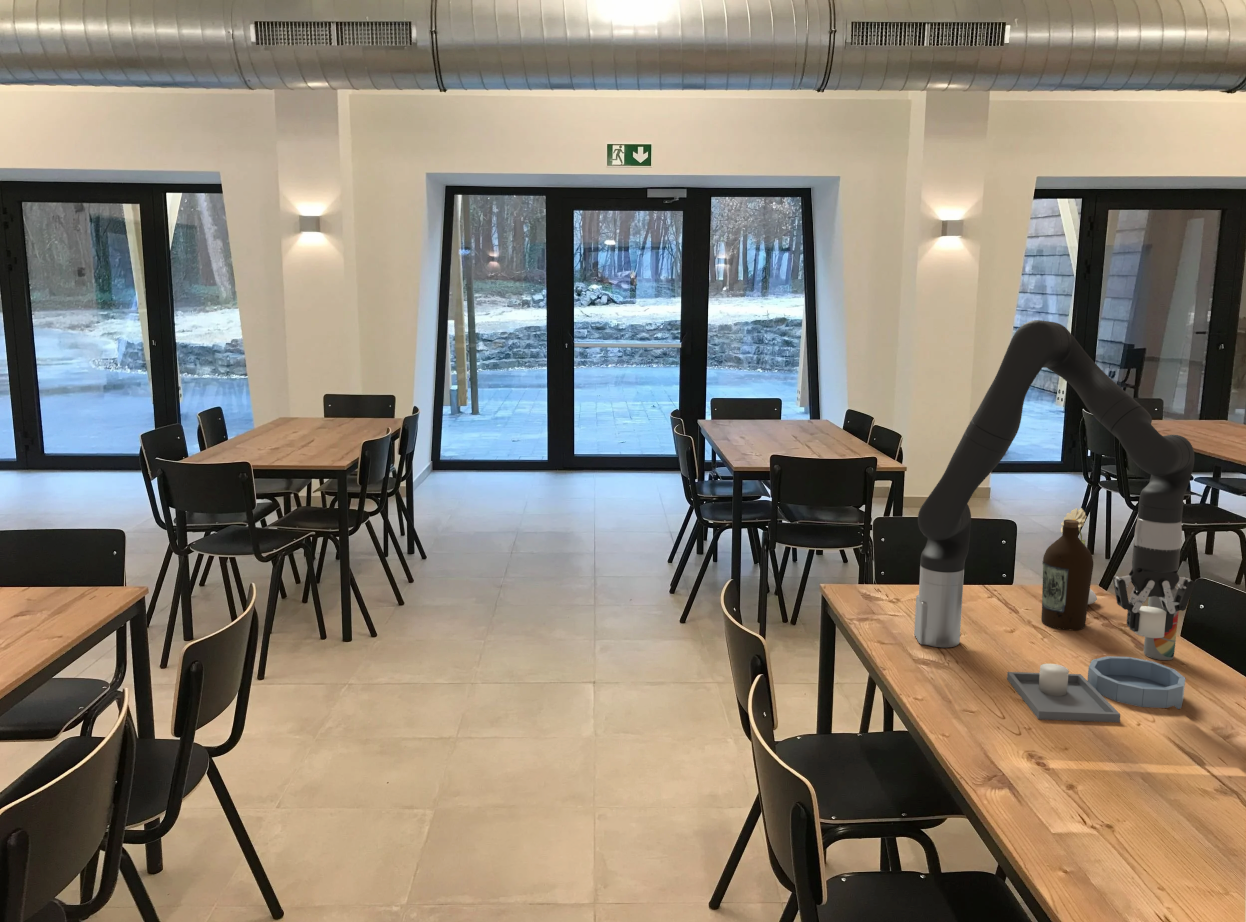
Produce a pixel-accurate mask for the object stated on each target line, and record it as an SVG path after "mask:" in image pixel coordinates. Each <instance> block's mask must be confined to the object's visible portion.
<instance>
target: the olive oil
mask: <svg viewBox="0 0 1246 922" xmlns="http://www.w3.org/2000/svg"><path fill="white" fill-rule="evenodd" d="M1063 521H1064V526H1062V527H1063V532H1062V533H1061V534H1062V535H1061V536H1059V537H1058V539H1056V540H1055V541H1054V542H1052V543H1051V544H1050V545H1049V546H1048V547H1047V548H1046V550H1045V552H1044V554H1043V558H1042V590H1041V591H1042V594H1041V617H1040V618H1041V622H1042V624H1044V625H1045V626H1048V627H1051V628H1053V629H1058V630H1063V631H1064V630H1065V631H1079V630H1082V629H1084V628H1086V623H1087V614H1088V606H1089V604H1088V599H1089V592H1090V589H1091V584H1092V577H1093V570H1094V558H1093V554H1092V553H1091V551H1090V549H1089V548H1088V546H1086V544H1085V545H1084V544H1083V543H1082V541H1081V538H1079V527H1078V525H1079V521H1077V520H1070V519H1067V520H1064V519H1063Z"/></svg>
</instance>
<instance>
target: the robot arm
mask: <svg viewBox="0 0 1246 922" xmlns="http://www.w3.org/2000/svg"><path fill="white" fill-rule="evenodd" d="M1043 368H1046V369H1047V370H1049V371H1051V372H1052V373H1054V374H1056V375H1058V376H1059V377H1061V379H1063V380H1064V381H1065V382H1066V383H1068V384H1069V385H1070V386H1071V387H1072V388H1073V390H1074V391H1075V392H1076V393H1077V395H1078V396H1079V399H1081V401H1082V402H1083V404H1084V406H1085V407H1086V409H1087V411H1089V412H1090V413H1091V415H1092V416H1093V418H1095V419H1096V420H1097V421H1098V422H1099V423H1100V424H1101V425H1103V427H1104V428H1106V430H1107V431H1109V432H1110V433H1111V434H1112V435H1113V436H1114V437H1116V439H1118V441H1119V443H1120V444H1121V446H1122V448H1123V449H1124V450H1125V452H1126V453H1127V455H1128V457H1130V458H1131V460H1132V461H1133V463H1134V464H1136V466H1137V467H1138V468H1140V470H1142V471H1144V472H1145V473H1147V474H1149V475H1150V479H1149V481H1148V482H1149V483H1148V484H1147V485H1146V486H1145V487H1143V488H1142V490H1141V492H1140V495H1139V500H1138V509H1137V510H1138V511H1137V518H1136V519H1137V520H1136V523H1135V529H1134V537H1133V547H1132V557H1131V558H1132V560H1131V570H1130V572H1129V573H1128V575H1127V574H1126V575H1123V576H1119V575H1113V577H1112V581H1113V588H1114V594H1115V599H1116V604H1117V605H1118V606H1119V607H1121V608H1122V609H1123V610H1127V613H1126V614H1127V615H1126V626H1127V627H1128V628H1129V630H1131V631H1132V632H1133V633H1134V632H1138V627H1139V617H1140V613H1138V611H1139V610H1140V608H1141V606H1143V604H1144V603H1145V602H1146V600H1148V598H1149V597H1152V596H1157V597H1159V599H1160V600H1161V604H1162V607H1163V609H1164V611H1166V622H1165V632H1169V629H1172V627H1173V617H1174V613H1175V612H1176V611H1179V612H1180V611H1182V612H1183V611H1185V610H1186V609H1187V606H1188V604H1189V601H1190V599H1191V596H1192V593H1193V590H1194V588H1195V585H1196V582H1195V581H1194V580H1192V579H1190V578H1189V577H1187V576H1183V577H1181V576H1180V575H1179V572H1178V571H1177V570H1178V569H1179V567H1180V566H1179V565H1180V556H1181V546H1182V543H1183V542H1182V541H1183V540H1182V535H1183V527H1182V521H1183V511H1184V510H1183V509H1184V497H1185V494H1186V491H1187V489H1188V486H1189V483H1190V480H1191V476H1192V474H1193V470H1194V466H1195V465H1194V464H1195V450H1194V447H1193V445H1192V443H1191V441H1190V440H1188V439H1187V438H1185V437H1184V436H1182V435H1178V434H1167V435H1162V434H1161V433H1160V432H1159V431H1157V429H1156V428H1155V427H1154V426H1153V424H1152V422H1153V417H1152V415H1151V414H1150V413H1149V412H1148V410H1147V409H1145V407H1143V406H1142V405H1141V404H1140V403H1139V402H1138V401H1136V400H1135V399H1134V398H1133V397H1132V396H1131V395H1130V394H1129V393H1128V392H1126V391H1125V390H1124V389H1123V388H1122V387H1121V386H1120V385H1118V383H1116V382H1115V381H1114V380H1113V379H1112V378H1111V377H1109V375H1108V374H1106V373H1105V372H1104V371H1103V370H1102V369H1101V368H1100V367H1099V366H1098V365H1097V363H1096V362H1095V361H1094V360H1093V359H1092V358H1091V357H1090V356H1089V354H1088V353H1087V352H1086V350H1085V349H1084V348H1083V347H1082V345H1080V343H1079V342H1078V341H1077V339H1076V338H1075V336H1073V334H1072V333H1071V332H1070V330H1069V329H1068V328H1067V327H1065V326H1064V325H1063V324H1061V323H1058V322H1054V321H1050V320H1042V319H1041V320H1040V319H1036V320H1035V319H1034V320H1030V321H1027V322H1025V323H1023V324H1022V325H1021V326H1020V327H1019V328H1018V329H1017V330H1016V331H1015V332H1014V334H1013V336H1012V338H1011V340H1010V342H1009V344H1008V347H1007V349H1006V351H1005V353H1004V357H1003V359H1002V361H1001V363H1000V365H999V368H998V370H997V372H996V375H995V377H994V379H993V381H992V383H991V384H990V387H989V388H988V389H987V391H986V393H985V395H984V397H983V399H982V401H981V402H980V404H979V406H978V408H977V410H976V411H975V413H974V414H973V416H972V418H971V420H970V421H969V423H968V426H967V427H966V429H965V431H964V433H963V435H962V436H961V439H960V441H959V443H958V444H957V446H956V449H955V450H954V452H953V454H952V457H951V458H950V460H949V463H948V465H947V467H946V469H945V471H944V473H943V474H942V476H941V478H940V480H939V481H938V483H937V484H936V485H935V487H934V488H933V489H932V491H931V492H930V494H929V495H928V496H927V498H926V499H925V501H924V502H923V503H922V505H921V506H920V509H919V511H918V514H917V524H918V525H917V526H918V528H919V530H920V532H921V534H923V536H924V537H925V538H927V540H926V543H925V546H924V549H922V552H921V554H920V562H919V563H920V564H919V565H920V566H919V585H918V586H919V587H918V594H917V595H916V597H915V614H914V616H915V617H914V629H913V630H914V634H913V635H914V637H915V636H916V637H915V639H916V638H917V639H916V640H917V642H918V643H920V645H926V646H929V647H936V648H952V647H953V648H954V647H956V646H958V645H959V644H960V641H961V626H962V625H961V624H962V609H963V594H964V593H963V592H964V575H965V562H966V559H967V557H968V553H969V548H970V541H971V539H970V538H971V529H972V528H971V527H972V526H971V525H972V513H971V508H970V505H969V501H970V500H971V498H972V496H973V495H974V493H975V491H976V490H977V489H978V488H979V486H980V485H981V484H982V483H983V482H984V480H985V479H987V478H988V476H989V475H990V474H991V473H992V472H993V471H994V469H995V468H996V467H997V466H998V465H999V464H1000V462H1001V461H1002V459H1003V458H1004V457H1005V455H1006V453H1007V452H1008V450H1009V448H1010V447H1011V445H1012V444H1013V441H1014V439H1015V437H1016V436H1017V434H1018V432H1019V429H1020V427H1021V423H1022V422H1021V421H1022V417H1023V416H1022V415H1023V410H1024V408H1023V407H1024V404H1025V403H1024V402H1025V398H1026V396H1027V393H1028V391H1029V389H1030V388H1031V386H1032V385H1033V382H1034V381H1035V380H1036V378H1037V376H1038V374H1039V373H1040V372H1041V370H1042V369H1043ZM1130 583H1131V584H1132V585H1133V588H1132V590H1131V592H1130V597H1128V596H1129V595H1128V591H1127V588H1129V585H1130ZM1175 585H1176V587H1177V588H1178V591H1177V593H1176V596H1175V599H1174V600H1173V596H1172V593H1171V590H1172V588H1173V587H1174V586H1175ZM1173 601H1174V602H1173Z"/></svg>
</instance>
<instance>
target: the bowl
mask: <svg viewBox="0 0 1246 922" xmlns="http://www.w3.org/2000/svg"><path fill="white" fill-rule="evenodd" d="M1086 680H1087V681H1088V682H1089V683H1090V684H1091V685H1092V686H1093V687H1094V688H1095V689H1096V690H1097V691H1098V692H1099V693H1100V694H1101V695H1102V696H1103V697H1104V698H1108V699H1110V700H1112V701H1115V702H1118V703H1122V704H1125V705H1130V706H1131V705H1132V706H1136V707H1140V708H1156V709H1157V708H1159V709H1161V708H1162V709H1163V708H1164V709H1168V708H1171V707H1175V708H1176V709H1177V710H1180V708H1181V709H1182V706H1183V702H1184V696H1185V685H1186V677H1185V676H1184V675H1182V674H1181V673H1180V672H1179V671H1177V670H1176V669H1175V668H1172V667H1169V666H1167V665H1165V664H1161V663H1159V662H1156V661H1153V660H1146V659H1142V658H1136V657H1131V656H1110V655H1107V656H1103V657H1098V658H1094V659H1092V660H1091V661H1090V664H1089V665H1088V671H1087V679H1086Z"/></svg>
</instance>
